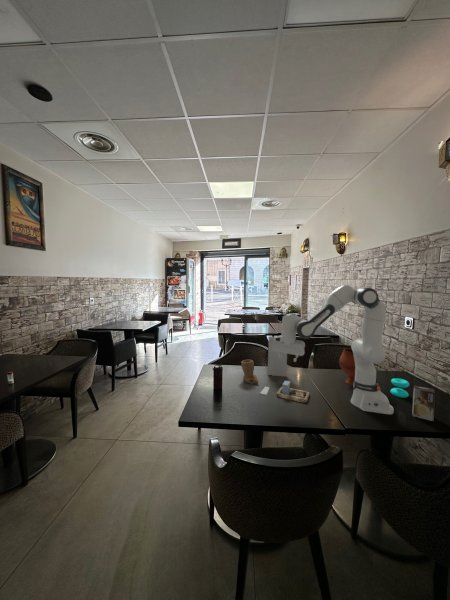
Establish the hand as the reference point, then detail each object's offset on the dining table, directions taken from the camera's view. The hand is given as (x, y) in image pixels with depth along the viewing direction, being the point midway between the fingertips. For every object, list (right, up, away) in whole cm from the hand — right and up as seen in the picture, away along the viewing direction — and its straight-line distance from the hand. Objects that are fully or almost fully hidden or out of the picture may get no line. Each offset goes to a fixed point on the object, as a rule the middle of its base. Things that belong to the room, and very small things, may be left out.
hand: (287, 360), depth 161 cm
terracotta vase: (+55, -24, +26) cm, 65 cm away
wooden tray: (+4, -24, 0) cm, 24 cm away
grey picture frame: (+71, -27, -19) cm, 78 cm away
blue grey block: (0, -24, +2) cm, 24 cm away
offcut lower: (+7, -25, -2) cm, 26 cm away
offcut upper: (+7, -23, -2) cm, 24 cm away
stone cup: (-22, -22, +27) cm, 41 cm away
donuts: (+77, -25, +8) cm, 81 cm away
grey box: (+1, -21, +40) cm, 45 cm away
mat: (-10, -23, +8) cm, 26 cm away
